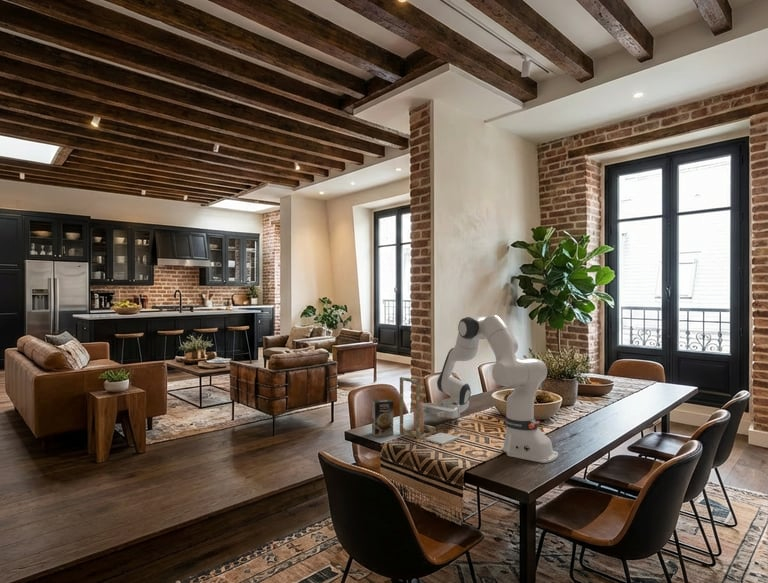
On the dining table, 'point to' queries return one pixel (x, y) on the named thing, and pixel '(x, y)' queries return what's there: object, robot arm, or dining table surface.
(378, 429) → the coffee box
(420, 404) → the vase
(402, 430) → the rack
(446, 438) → the coaster
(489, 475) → the dining table surface
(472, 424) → the dining table surface
